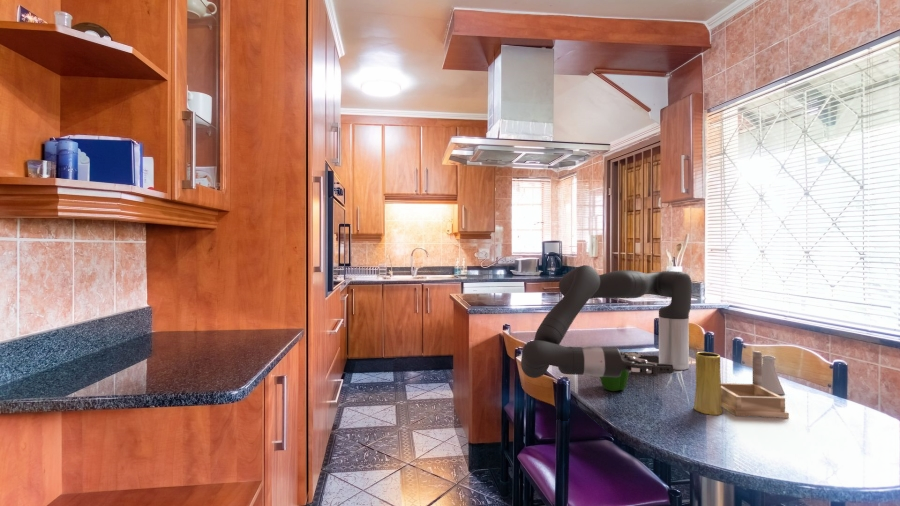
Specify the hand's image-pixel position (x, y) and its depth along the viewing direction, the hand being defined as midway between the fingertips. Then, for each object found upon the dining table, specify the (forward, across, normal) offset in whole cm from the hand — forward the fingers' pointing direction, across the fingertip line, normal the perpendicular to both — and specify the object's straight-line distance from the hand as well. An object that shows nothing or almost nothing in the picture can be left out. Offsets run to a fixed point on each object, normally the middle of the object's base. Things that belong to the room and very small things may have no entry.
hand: (665, 364), depth 105 cm
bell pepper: (-8, +15, +12) cm, 21 cm away
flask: (+36, +17, +11) cm, 41 cm away
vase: (+11, 0, +12) cm, 16 cm away
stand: (+22, +3, +11) cm, 25 cm away
